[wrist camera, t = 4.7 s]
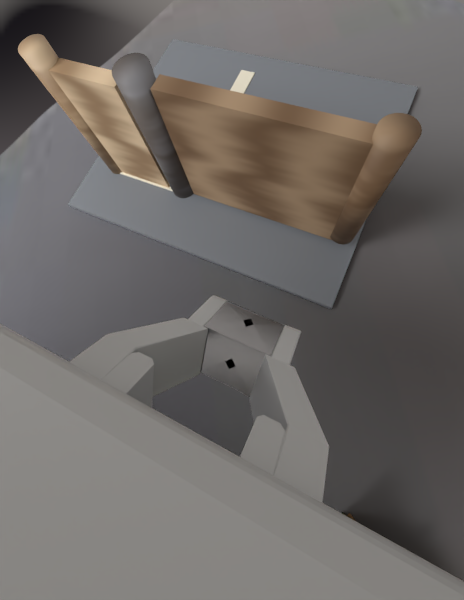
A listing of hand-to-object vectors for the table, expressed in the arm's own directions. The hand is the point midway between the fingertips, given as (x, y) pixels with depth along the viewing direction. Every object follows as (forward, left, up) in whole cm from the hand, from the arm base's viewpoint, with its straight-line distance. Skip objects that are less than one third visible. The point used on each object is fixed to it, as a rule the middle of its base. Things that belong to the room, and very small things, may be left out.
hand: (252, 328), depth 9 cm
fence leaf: (+12, +4, -13) cm, 18 cm away
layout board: (+18, +10, -14) cm, 25 cm away
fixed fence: (+12, +17, -13) cm, 25 cm away
